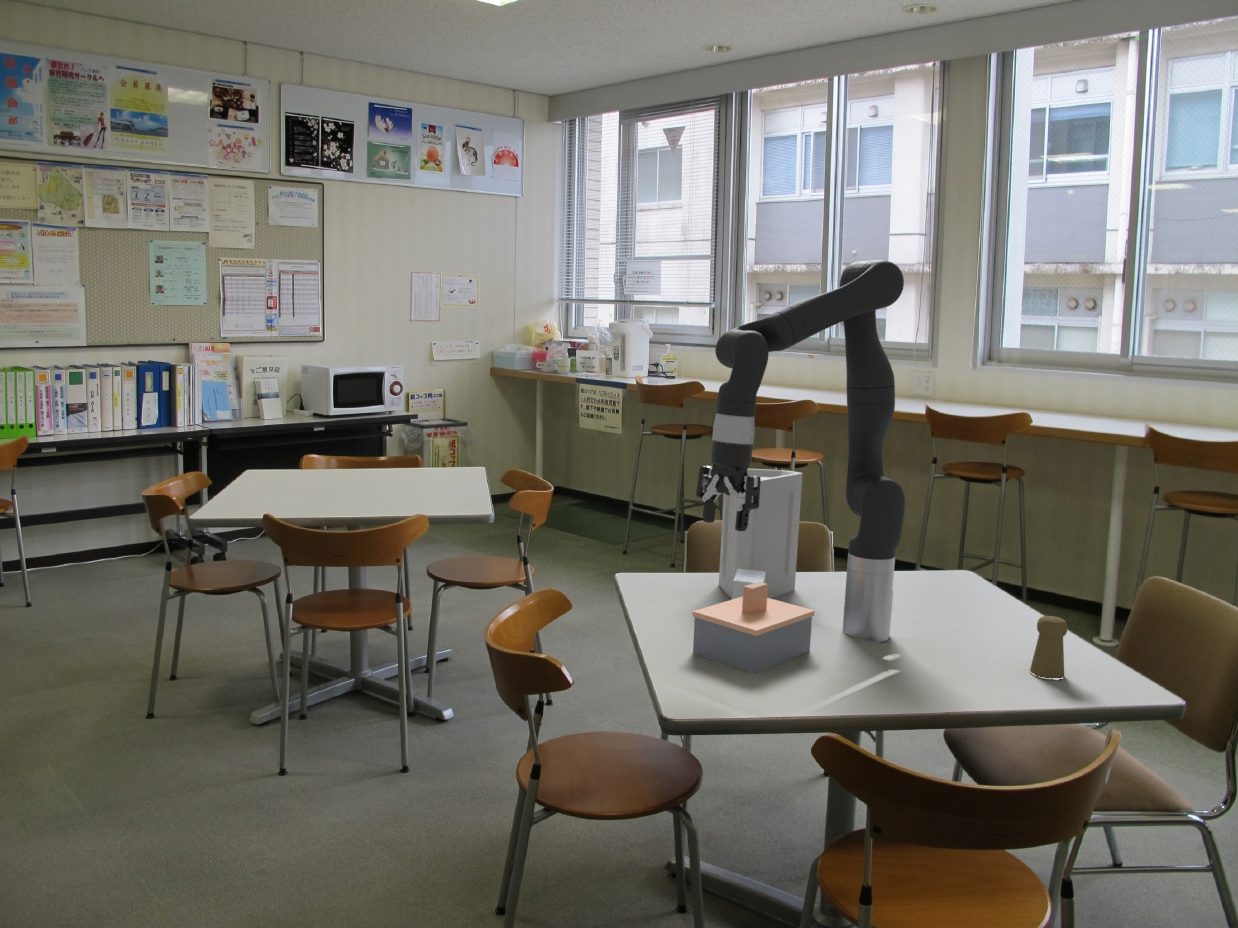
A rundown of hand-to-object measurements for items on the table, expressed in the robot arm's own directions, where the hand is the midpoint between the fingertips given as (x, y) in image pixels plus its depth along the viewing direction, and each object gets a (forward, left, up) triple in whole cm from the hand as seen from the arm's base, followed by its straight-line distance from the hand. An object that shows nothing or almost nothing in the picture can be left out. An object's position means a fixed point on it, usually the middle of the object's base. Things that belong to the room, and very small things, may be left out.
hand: (724, 526), depth 185 cm
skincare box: (-21, -8, -25) cm, 34 cm away
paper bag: (-41, -24, -25) cm, 54 cm away
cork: (-40, +47, -25) cm, 66 cm away
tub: (-5, +5, -25) cm, 26 cm away
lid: (-5, +5, -18) cm, 19 cm away
